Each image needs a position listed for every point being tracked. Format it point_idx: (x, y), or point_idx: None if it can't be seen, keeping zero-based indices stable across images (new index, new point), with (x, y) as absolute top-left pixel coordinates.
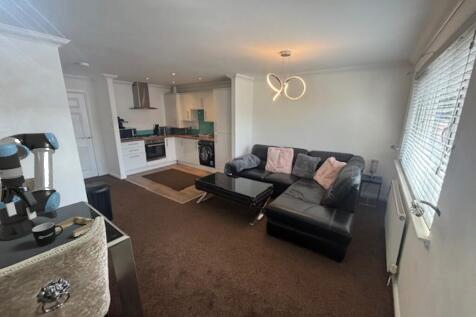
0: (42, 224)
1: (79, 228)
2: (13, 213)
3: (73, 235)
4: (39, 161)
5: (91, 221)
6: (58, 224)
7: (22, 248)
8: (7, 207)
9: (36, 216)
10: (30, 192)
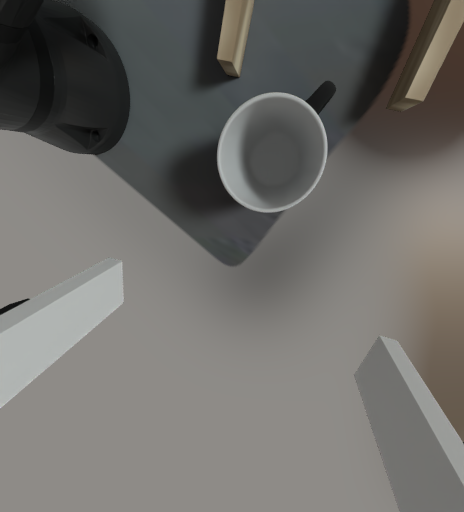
0: (231, 123)
1: (437, 45)
2: (112, 286)
3: (394, 105)
4: None
5: None
6: (235, 11)
7: (209, 200)
8: (35, 377)
9: (399, 346)
10: None
